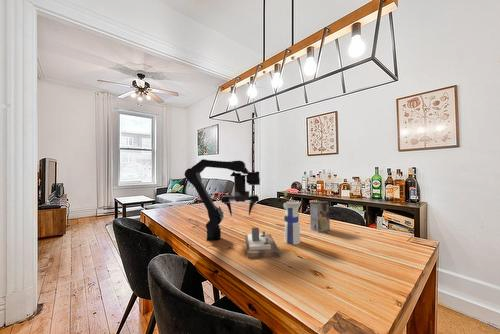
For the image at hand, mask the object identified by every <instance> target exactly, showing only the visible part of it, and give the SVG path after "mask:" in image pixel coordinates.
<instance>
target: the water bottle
mask: <svg viewBox="0 0 500 334" xmlns="http://www.w3.org/2000/svg"><path fill="white" fill-rule="evenodd" d="M288 193H289V191H287V190H285V192H283V194H284V197H288ZM299 207H301V203H300V201H293V200H289V201H288V200H287V201H286V202H284V203H283V209H284V210H285V212H284V216H283V219H284V220H283V221H284V222H285V223H284V243H286V244H288V245H291V246H292V245H293V246H294V245H299V244H301V234H300V233H301V231H300V229H301V228H300V227H301V226H300V222H299V221H300V220H299V217H300V213H299Z"/></svg>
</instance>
